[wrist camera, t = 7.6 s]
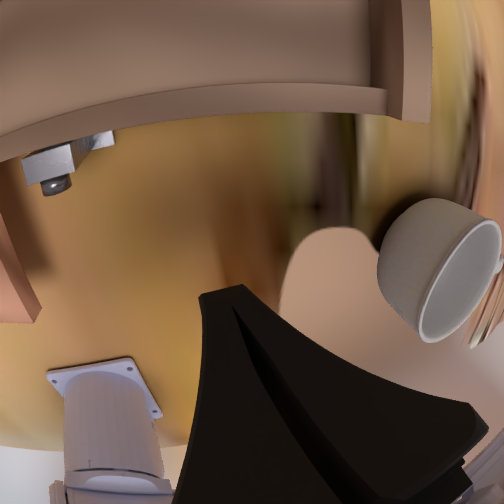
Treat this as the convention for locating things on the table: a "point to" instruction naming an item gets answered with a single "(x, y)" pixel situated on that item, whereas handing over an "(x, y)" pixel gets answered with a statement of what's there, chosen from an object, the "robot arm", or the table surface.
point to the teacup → (438, 265)
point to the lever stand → (61, 161)
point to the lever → (196, 72)
